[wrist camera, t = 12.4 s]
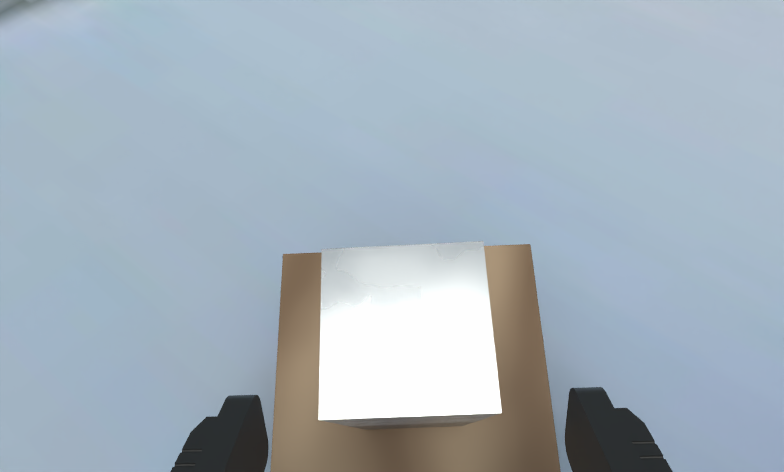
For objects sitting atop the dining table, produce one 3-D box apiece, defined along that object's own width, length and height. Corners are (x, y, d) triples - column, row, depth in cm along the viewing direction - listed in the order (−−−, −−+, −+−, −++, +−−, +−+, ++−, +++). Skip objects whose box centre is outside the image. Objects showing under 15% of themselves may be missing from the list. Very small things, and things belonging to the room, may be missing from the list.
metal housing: (455, 328, 25) (483, 241, 14) (462, 426, 24) (501, 412, 13) (364, 332, 26) (321, 249, 14) (365, 429, 24) (318, 419, 13)
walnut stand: (516, 268, 31) (530, 244, 27) (546, 515, 26) (567, 528, 22) (299, 276, 31) (283, 254, 27) (288, 521, 26) (267, 534, 22)
